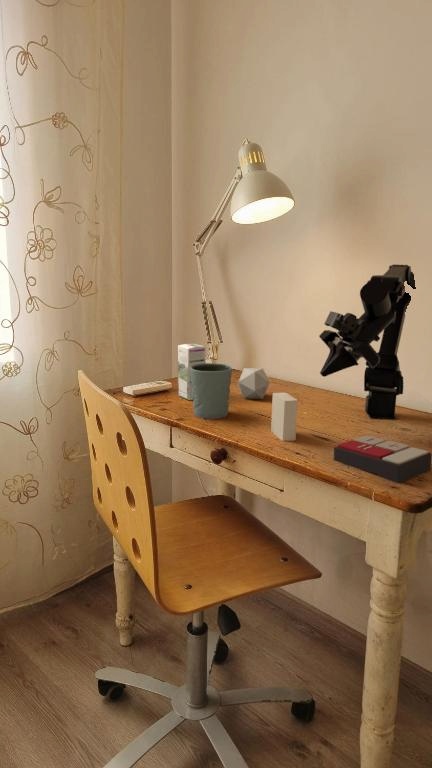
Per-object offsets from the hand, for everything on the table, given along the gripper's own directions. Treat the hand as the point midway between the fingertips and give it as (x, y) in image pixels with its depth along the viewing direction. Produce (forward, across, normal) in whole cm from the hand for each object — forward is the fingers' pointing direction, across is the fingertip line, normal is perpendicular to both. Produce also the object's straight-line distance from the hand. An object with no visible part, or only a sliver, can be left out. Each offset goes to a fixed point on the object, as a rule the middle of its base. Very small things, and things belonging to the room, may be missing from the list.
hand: (321, 375), depth 128 cm
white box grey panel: (+16, 0, +4) cm, 16 cm away
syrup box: (+24, -37, -5) cm, 44 cm away
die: (+12, -33, +7) cm, 36 cm away
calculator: (+7, +21, +12) cm, 25 cm away
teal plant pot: (+24, -20, -4) cm, 31 cm away
